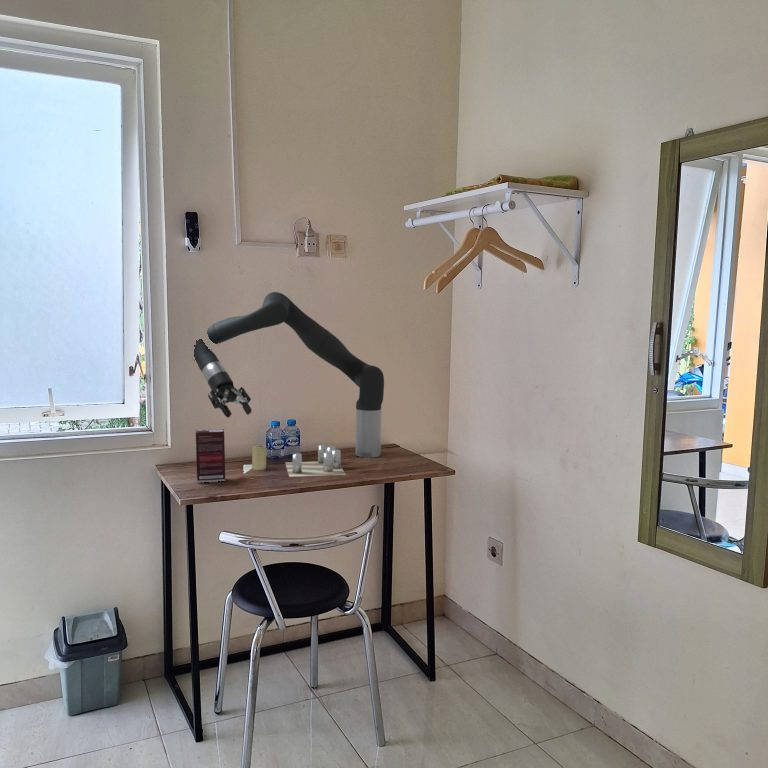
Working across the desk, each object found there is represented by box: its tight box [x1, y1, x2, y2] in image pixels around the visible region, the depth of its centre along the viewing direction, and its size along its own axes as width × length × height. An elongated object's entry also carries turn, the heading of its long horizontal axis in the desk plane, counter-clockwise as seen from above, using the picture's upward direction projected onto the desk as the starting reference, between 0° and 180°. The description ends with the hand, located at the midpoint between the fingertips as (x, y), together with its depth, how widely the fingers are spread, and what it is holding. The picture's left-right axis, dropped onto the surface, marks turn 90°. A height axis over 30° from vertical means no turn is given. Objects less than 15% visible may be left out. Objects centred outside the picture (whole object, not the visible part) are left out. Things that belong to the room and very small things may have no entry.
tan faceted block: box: [251, 444, 267, 471], centre depth 228 cm, size 5×4×8 cm
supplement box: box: [195, 428, 226, 484], centre depth 215 cm, size 9×5×16 cm, turn 105°
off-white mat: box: [242, 464, 253, 475], centre depth 229 cm, size 18×10×1 cm, turn 12°
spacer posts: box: [292, 443, 342, 474], centre depth 231 cm, size 16×16×6 cm
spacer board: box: [284, 461, 347, 478], centre depth 230 cm, size 20×18×1 cm
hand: (239, 414), depth 233 cm, fingers open, 8 cm apart
